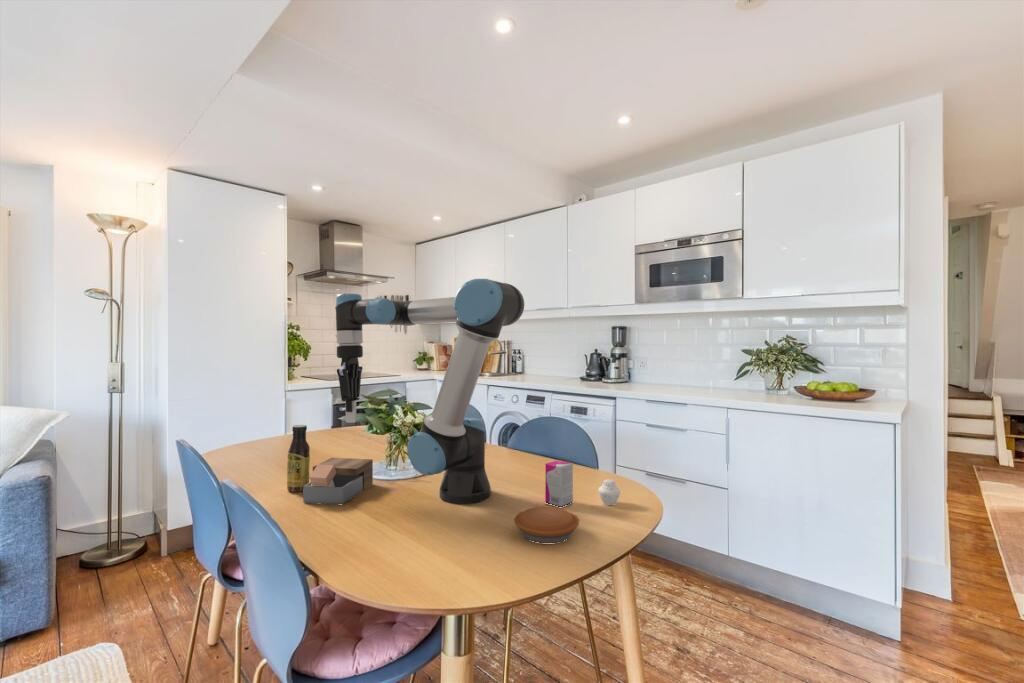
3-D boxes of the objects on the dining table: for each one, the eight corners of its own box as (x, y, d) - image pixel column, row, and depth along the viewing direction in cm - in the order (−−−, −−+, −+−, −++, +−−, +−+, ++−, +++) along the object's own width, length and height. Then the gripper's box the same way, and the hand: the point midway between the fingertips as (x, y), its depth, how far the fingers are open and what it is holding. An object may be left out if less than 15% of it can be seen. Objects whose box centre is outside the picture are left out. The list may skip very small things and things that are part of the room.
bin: (362, 491, 144) (362, 475, 144) (342, 505, 132) (342, 488, 132) (326, 489, 146) (326, 473, 146) (303, 502, 134) (303, 486, 134)
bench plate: (372, 484, 151) (372, 459, 151) (356, 495, 140) (356, 468, 140) (332, 482, 153) (331, 457, 153) (312, 493, 142) (312, 466, 142)
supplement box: (573, 503, 133) (573, 463, 133) (560, 509, 129) (560, 467, 129) (557, 498, 137) (557, 459, 137) (544, 503, 133) (544, 463, 133)
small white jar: (623, 502, 134) (623, 478, 134) (615, 509, 129) (615, 483, 129) (603, 498, 137) (603, 474, 137) (594, 504, 132) (594, 479, 132)
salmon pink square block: (336, 472, 138) (333, 465, 136) (328, 485, 133) (325, 478, 132) (320, 471, 138) (317, 464, 137) (312, 484, 134) (309, 477, 133)
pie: (514, 521, 120) (514, 502, 120) (575, 522, 120) (575, 502, 120) (512, 548, 105) (512, 526, 105) (582, 549, 105) (582, 527, 105)
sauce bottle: (282, 491, 144) (281, 426, 144) (298, 485, 150) (298, 423, 150) (298, 494, 142) (298, 428, 141) (314, 487, 147) (314, 424, 147)
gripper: (347, 344, 150) (348, 418, 150) (327, 345, 137) (329, 426, 137) (370, 344, 150) (371, 418, 150) (352, 344, 137) (353, 426, 137)
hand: (351, 422), depth 144 cm, fingers closed
